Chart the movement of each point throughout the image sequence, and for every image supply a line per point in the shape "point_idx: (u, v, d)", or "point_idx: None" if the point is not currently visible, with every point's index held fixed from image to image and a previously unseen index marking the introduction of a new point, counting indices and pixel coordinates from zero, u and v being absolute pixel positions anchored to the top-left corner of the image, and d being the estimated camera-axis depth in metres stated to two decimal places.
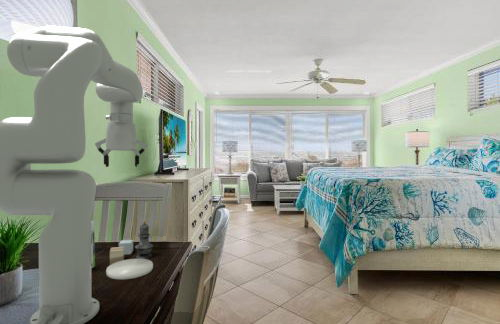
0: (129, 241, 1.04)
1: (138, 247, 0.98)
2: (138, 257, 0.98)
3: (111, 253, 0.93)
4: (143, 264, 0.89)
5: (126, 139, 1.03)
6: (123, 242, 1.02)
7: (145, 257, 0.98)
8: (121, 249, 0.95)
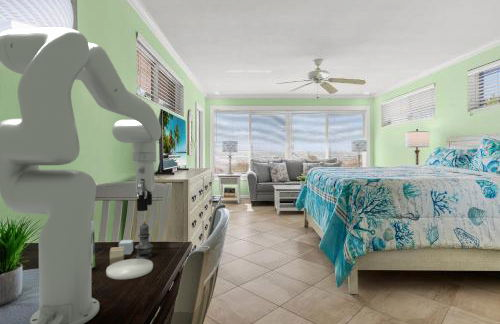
0: (129, 241, 1.04)
1: (138, 247, 0.98)
2: (138, 257, 0.98)
3: (111, 253, 0.93)
4: (143, 264, 0.89)
5: (153, 178, 1.02)
6: (123, 242, 1.02)
7: (145, 257, 0.98)
8: (121, 249, 0.95)
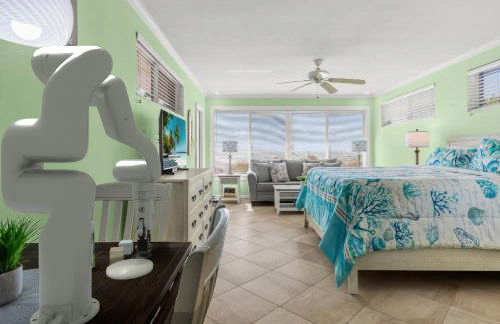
0: (129, 241, 1.04)
1: None
2: (138, 257, 0.98)
3: (111, 253, 0.93)
4: (143, 264, 0.89)
5: (153, 215, 1.02)
6: (123, 242, 1.02)
7: (145, 257, 0.98)
8: (121, 249, 0.95)
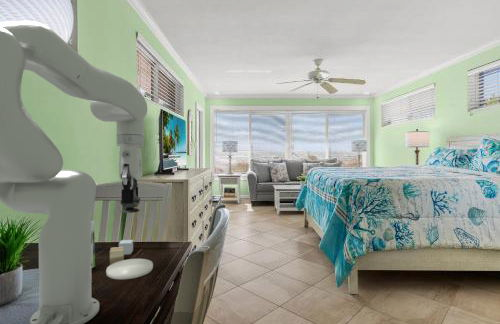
0: (129, 241, 1.04)
1: None
2: (123, 211, 0.85)
3: (111, 253, 0.93)
4: (143, 264, 0.89)
5: (141, 165, 0.89)
6: (124, 242, 1.02)
7: (131, 211, 0.85)
8: (121, 249, 0.95)
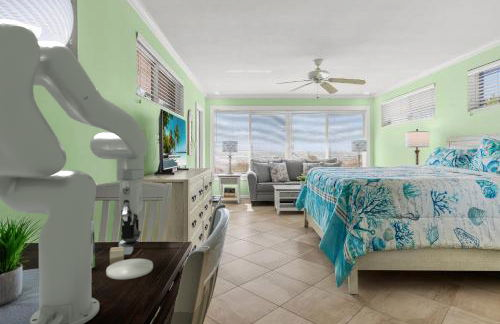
0: None
1: None
2: (123, 245, 0.86)
3: (111, 253, 0.93)
4: (143, 264, 0.89)
5: (141, 198, 0.89)
6: (123, 242, 1.02)
7: (131, 245, 0.86)
8: (121, 249, 0.95)
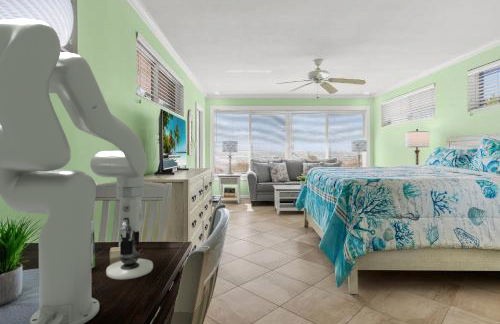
0: None
1: (122, 256, 0.85)
2: (123, 267, 0.86)
3: (111, 253, 0.93)
4: (143, 264, 0.89)
5: (141, 215, 0.90)
6: None
7: (131, 267, 0.86)
8: None
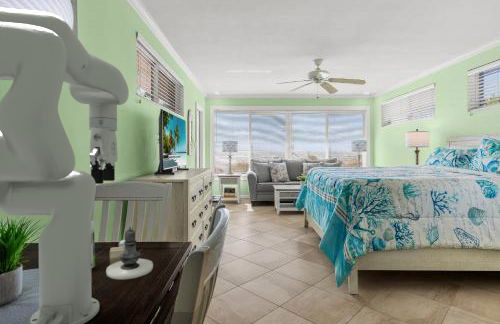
0: None
1: (123, 256, 0.85)
2: (123, 267, 0.86)
3: (111, 253, 0.93)
4: (143, 264, 0.89)
5: (115, 149, 0.90)
6: None
7: (131, 268, 0.86)
8: (121, 249, 0.95)
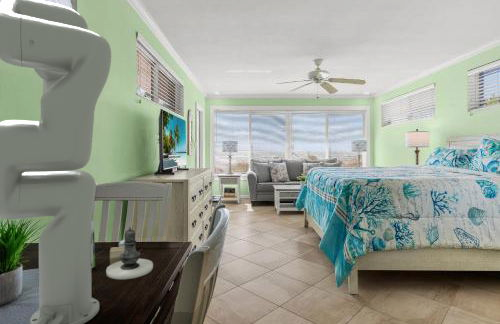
0: None
1: (123, 256, 0.85)
2: (123, 268, 0.86)
3: (111, 253, 0.93)
4: (143, 264, 0.89)
5: None
6: None
7: (131, 268, 0.86)
8: (121, 249, 0.95)
